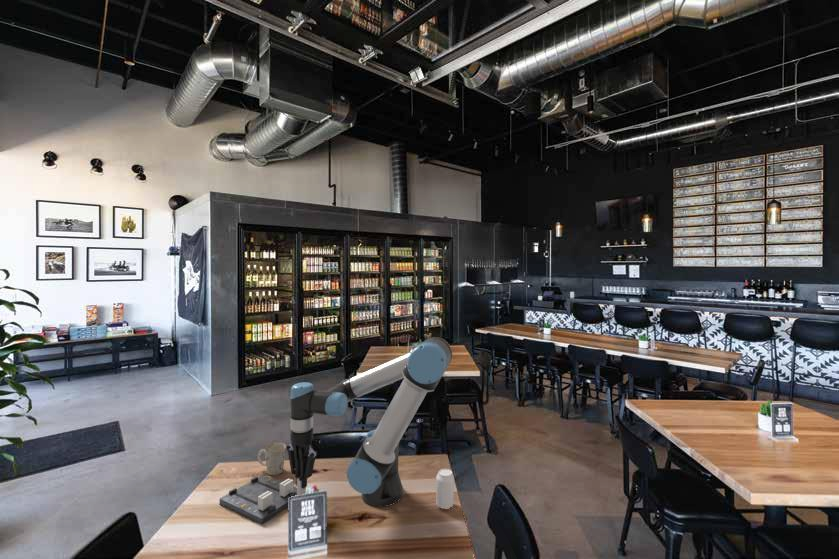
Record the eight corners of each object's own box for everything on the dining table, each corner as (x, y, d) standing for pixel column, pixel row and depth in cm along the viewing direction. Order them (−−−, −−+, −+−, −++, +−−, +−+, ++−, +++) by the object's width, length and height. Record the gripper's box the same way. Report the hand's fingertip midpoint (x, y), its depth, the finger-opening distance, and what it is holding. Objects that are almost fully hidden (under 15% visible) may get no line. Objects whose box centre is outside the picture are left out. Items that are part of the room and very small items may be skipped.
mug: (278, 478, 149) (278, 453, 148) (250, 474, 151) (250, 449, 151) (290, 467, 157) (290, 443, 157) (263, 464, 159) (263, 440, 159)
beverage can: (457, 506, 132) (457, 472, 132) (446, 514, 127) (446, 478, 127) (443, 498, 136) (444, 465, 136) (432, 506, 131) (432, 472, 131)
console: (304, 496, 137) (304, 488, 137) (261, 524, 121) (262, 515, 121) (263, 479, 147) (263, 472, 147) (219, 504, 131) (219, 495, 131)
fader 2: (293, 491, 136) (293, 479, 136) (284, 496, 132) (284, 485, 132) (288, 489, 137) (288, 478, 137) (279, 494, 133) (279, 483, 133)
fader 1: (272, 504, 128) (272, 492, 128) (262, 510, 124) (262, 498, 124) (267, 502, 129) (267, 490, 129) (257, 508, 126) (257, 496, 125)
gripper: (323, 428, 131) (323, 495, 131) (296, 421, 137) (296, 485, 137) (307, 436, 124) (307, 507, 125) (280, 428, 131) (279, 495, 131)
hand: (301, 495), depth 131 cm, fingers closed
